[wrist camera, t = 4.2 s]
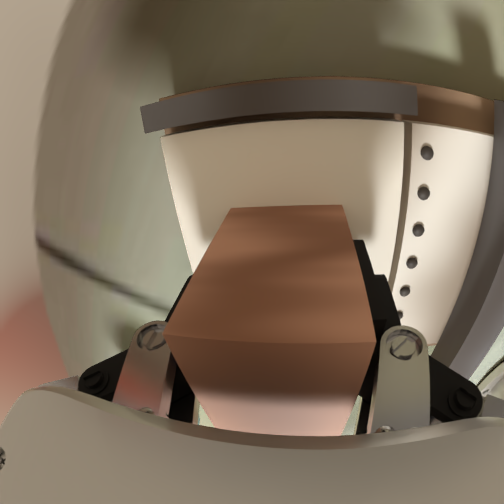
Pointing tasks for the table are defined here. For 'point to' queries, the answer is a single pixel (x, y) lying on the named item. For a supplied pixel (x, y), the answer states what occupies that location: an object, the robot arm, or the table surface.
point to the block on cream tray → (281, 265)
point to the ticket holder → (404, 191)
